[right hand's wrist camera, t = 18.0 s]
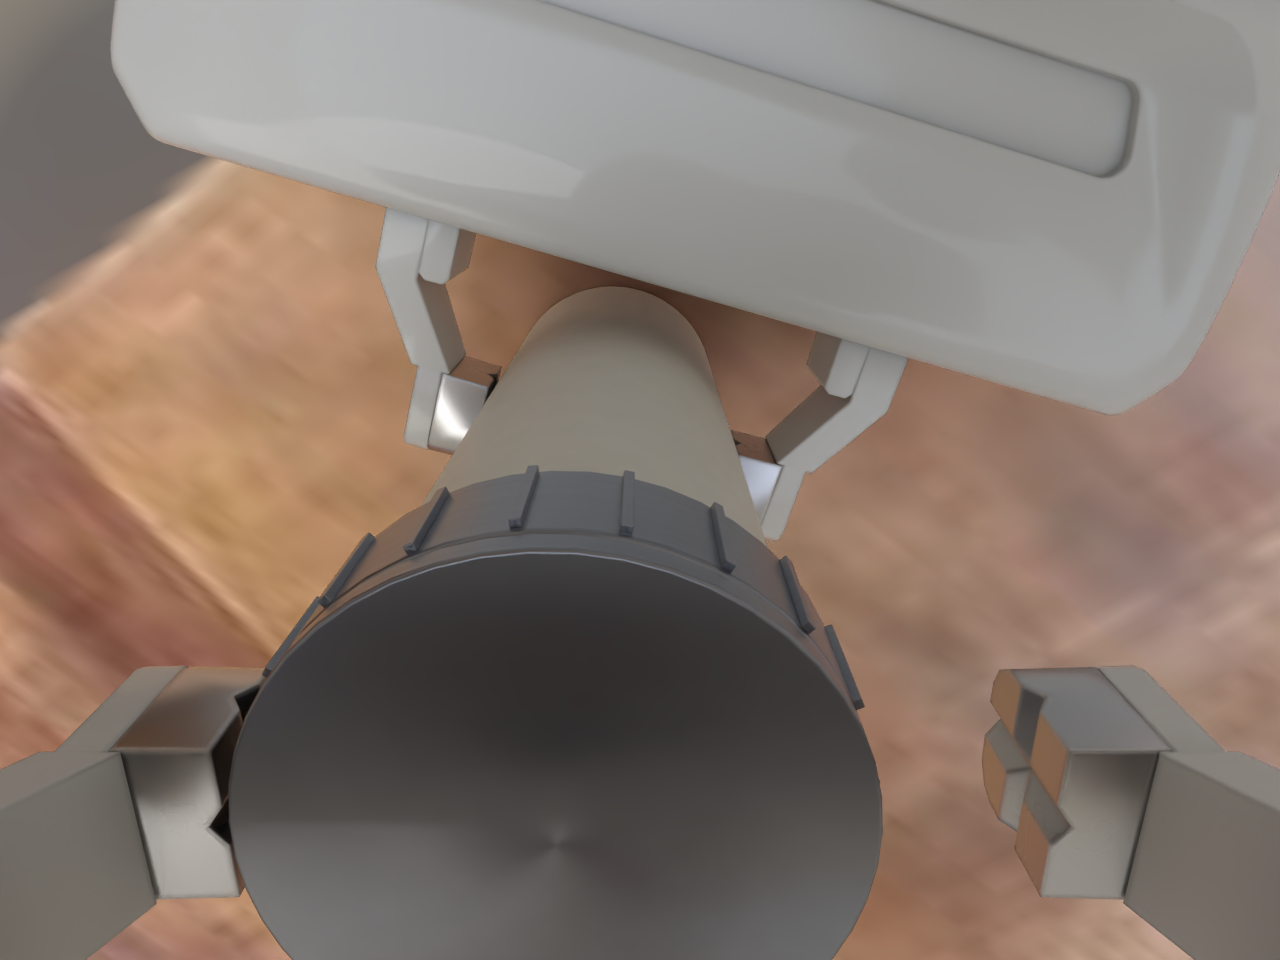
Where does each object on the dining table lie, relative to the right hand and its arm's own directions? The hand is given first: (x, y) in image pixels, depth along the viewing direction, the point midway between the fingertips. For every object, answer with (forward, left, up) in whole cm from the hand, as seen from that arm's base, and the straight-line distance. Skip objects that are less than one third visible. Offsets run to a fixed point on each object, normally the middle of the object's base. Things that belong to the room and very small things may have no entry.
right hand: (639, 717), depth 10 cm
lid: (0, +1, +2) cm, 2 cm away
